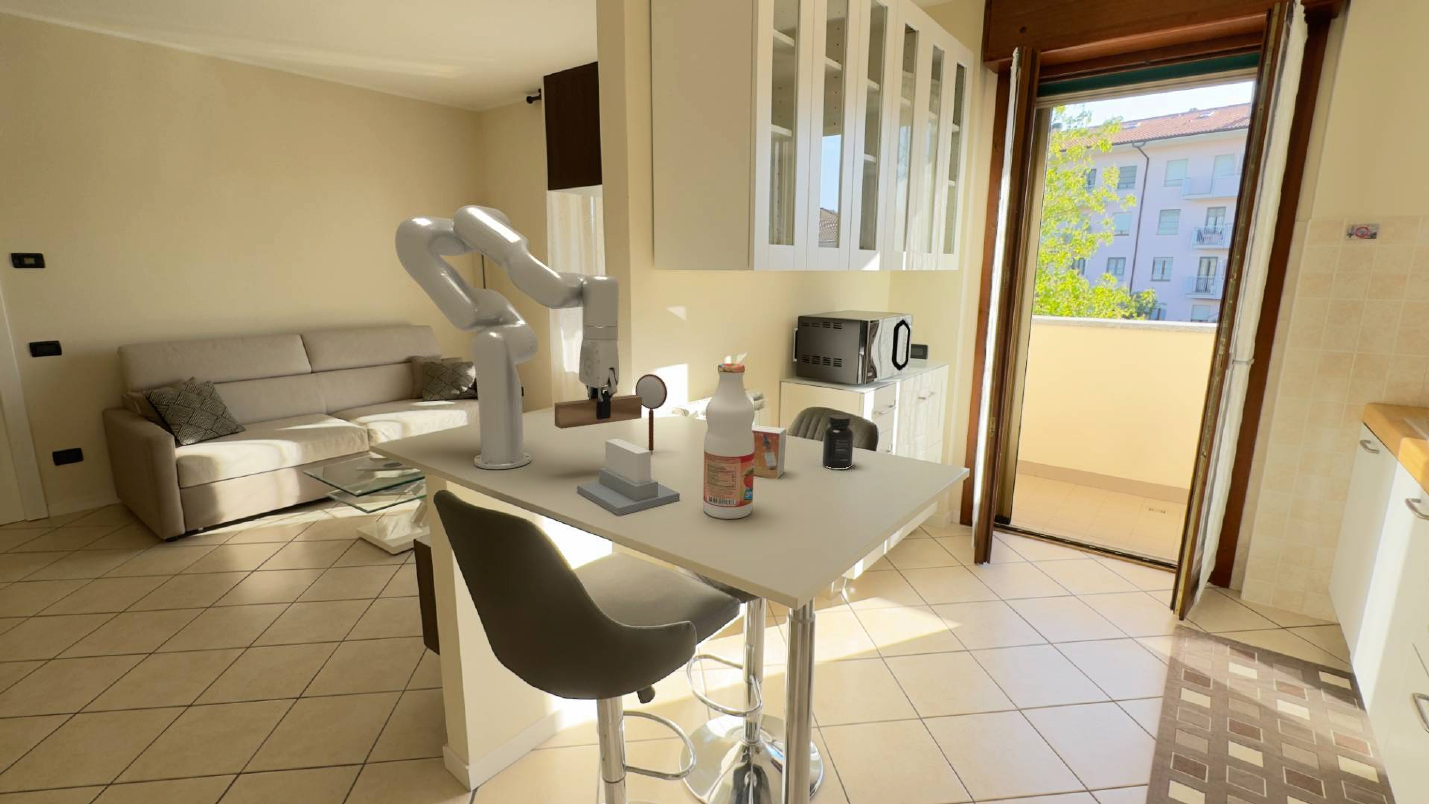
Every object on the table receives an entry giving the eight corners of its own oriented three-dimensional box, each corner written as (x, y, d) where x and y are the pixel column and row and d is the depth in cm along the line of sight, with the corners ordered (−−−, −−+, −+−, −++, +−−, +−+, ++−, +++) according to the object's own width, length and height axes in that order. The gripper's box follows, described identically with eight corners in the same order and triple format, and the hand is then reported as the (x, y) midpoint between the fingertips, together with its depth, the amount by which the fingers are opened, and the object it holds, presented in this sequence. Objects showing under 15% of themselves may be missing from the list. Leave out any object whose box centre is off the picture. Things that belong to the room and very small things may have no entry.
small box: (743, 474, 145) (744, 429, 143) (751, 467, 150) (753, 423, 148) (777, 479, 142) (779, 433, 140) (784, 472, 147) (786, 427, 145)
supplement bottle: (855, 465, 154) (859, 416, 151) (845, 472, 148) (848, 421, 146) (829, 460, 157) (831, 412, 155) (817, 467, 152) (820, 417, 149)
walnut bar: (554, 425, 137) (554, 402, 136) (634, 415, 150) (634, 394, 149) (561, 428, 135) (561, 405, 134) (641, 418, 148) (641, 396, 147)
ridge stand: (577, 492, 131) (576, 442, 129) (635, 479, 140) (635, 432, 138) (618, 515, 119) (617, 461, 117) (679, 500, 128) (680, 449, 126)
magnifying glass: (668, 455, 159) (668, 375, 155) (664, 457, 157) (665, 376, 153) (637, 450, 162) (637, 372, 158) (634, 452, 161) (634, 373, 157)
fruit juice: (698, 503, 126) (700, 361, 120) (744, 501, 128) (749, 361, 123) (708, 521, 117) (711, 369, 111) (758, 518, 119) (763, 368, 114)
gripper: (566, 330, 142) (566, 411, 146) (603, 338, 130) (603, 427, 134) (597, 329, 147) (596, 408, 151) (635, 337, 135) (633, 422, 139)
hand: (599, 416), depth 142 cm, fingers closed on walnut bar, 2 cm apart
